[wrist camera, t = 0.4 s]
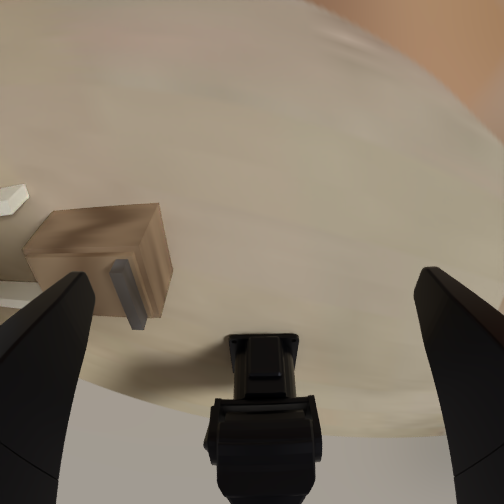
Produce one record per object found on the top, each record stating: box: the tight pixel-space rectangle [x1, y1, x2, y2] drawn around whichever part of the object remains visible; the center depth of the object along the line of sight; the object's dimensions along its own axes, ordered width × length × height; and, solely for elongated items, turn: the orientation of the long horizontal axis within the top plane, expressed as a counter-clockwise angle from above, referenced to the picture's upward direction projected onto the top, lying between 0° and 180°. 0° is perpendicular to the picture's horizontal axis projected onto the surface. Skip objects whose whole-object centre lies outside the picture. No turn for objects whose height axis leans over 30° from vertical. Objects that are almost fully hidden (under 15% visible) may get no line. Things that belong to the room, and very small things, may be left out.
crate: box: [22, 203, 173, 330], centre depth 20 cm, size 9×6×7 cm, turn 91°
